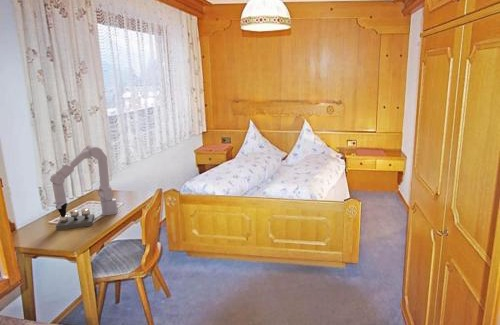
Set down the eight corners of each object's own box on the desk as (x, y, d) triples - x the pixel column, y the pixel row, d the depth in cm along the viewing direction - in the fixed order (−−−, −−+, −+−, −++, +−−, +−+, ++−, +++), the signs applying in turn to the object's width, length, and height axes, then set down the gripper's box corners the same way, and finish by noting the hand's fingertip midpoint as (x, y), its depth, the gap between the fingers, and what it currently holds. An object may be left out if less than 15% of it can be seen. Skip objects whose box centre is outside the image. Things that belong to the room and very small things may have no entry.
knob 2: (91, 216, 225) (89, 207, 224) (90, 219, 221) (88, 210, 220) (83, 217, 224) (81, 208, 223) (82, 220, 220) (80, 211, 219)
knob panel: (94, 217, 230) (94, 213, 229) (92, 225, 218) (91, 221, 218) (60, 222, 225) (60, 218, 224) (56, 230, 214) (55, 226, 213)
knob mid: (80, 218, 224) (78, 209, 222) (79, 220, 220) (77, 211, 218) (72, 219, 223) (70, 210, 221) (71, 221, 218) (69, 213, 217)
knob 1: (70, 223, 223) (68, 214, 221) (68, 225, 219) (67, 217, 217) (61, 224, 222) (60, 215, 220) (60, 227, 218) (58, 218, 216)
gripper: (55, 191, 221) (58, 212, 225) (49, 199, 208) (53, 222, 211) (68, 189, 223) (71, 211, 226) (63, 197, 209) (67, 220, 213)
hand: (63, 216), depth 219 cm, fingers closed, pressing on knob 1
